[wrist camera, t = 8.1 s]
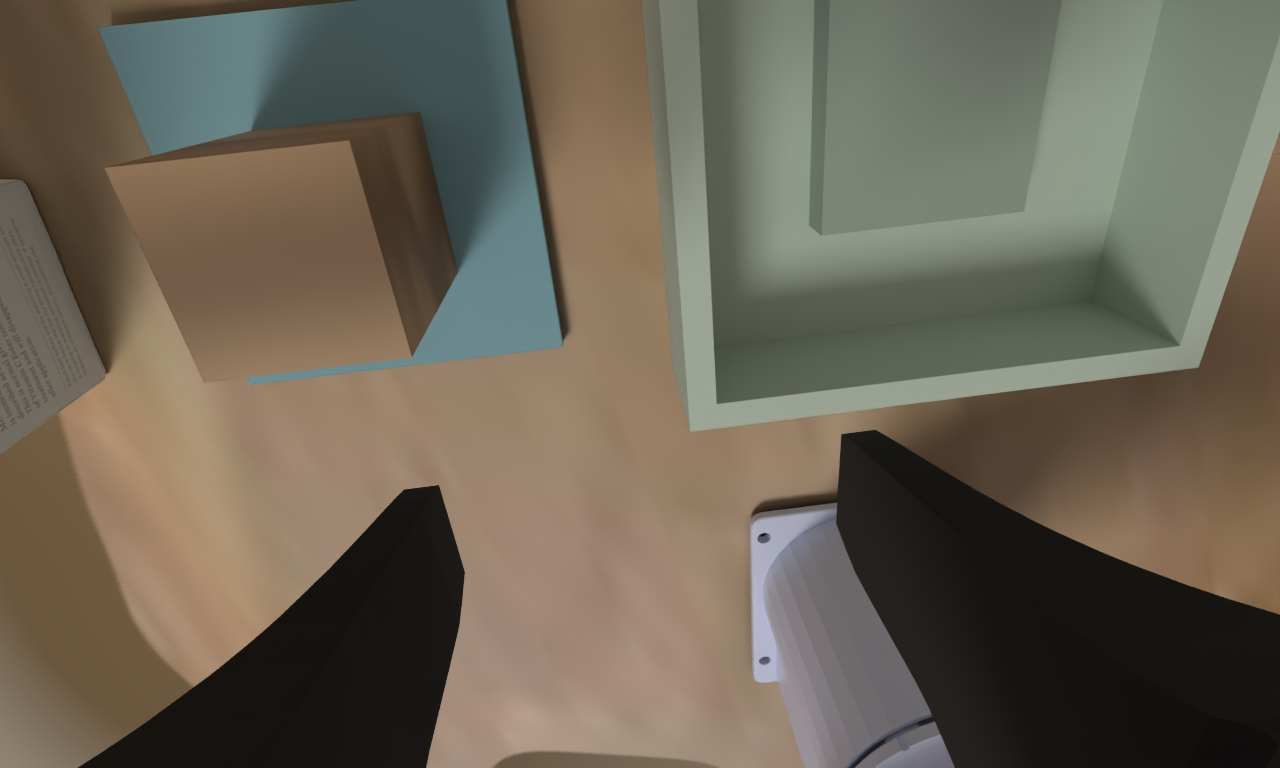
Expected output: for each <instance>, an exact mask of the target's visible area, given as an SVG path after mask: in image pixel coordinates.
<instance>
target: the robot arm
mask: <svg viewBox="0 0 1280 768" xmlns="http://www.w3.org/2000/svg"><path fill="white" fill-rule="evenodd" d="M762 533H767V534H766V535H765V536H762V537H760V536H759V535H760V534H762ZM749 541H750V590H751V640H752V672H753V676H754V679H755V680H756V681H757V682H761V683H766V682H774V681H778V684H779V687H780V690H781V694H782V697H783V700H784V703H785V707H786V710H787V713H788V716H789V719H790V723H791V726H792V729H793V732H794V736H795V739H796V742H797V745H798V748H799V752H800V755H801V758H802V761H803V765H804V768H1280V615H1279V614H1276V613H1273V612H1269V611H1266V610H1263V609H1259V608H1256V607H1253V606H1250V605H1246V604H1243V603H1240V602H1237V601H1233V600H1230V599H1227V598H1224V597H1221V596H1218V595H1215V594H1212V593H1209V592H1206V591H1203V590H1200V589H1197V588H1194V587H1191V586H1188V585H1185V584H1183V583H1180V582H1177V581H1174V580H1172V579H1169V578H1166V577H1164V576H1161V575H1158V574H1156V573H1153V572H1150V571H1148V570H1145V569H1142V568H1139V567H1137V566H1134V565H1132V564H1129V563H1127V562H1124V561H1122V560H1119V559H1117V558H1114V557H1112V556H1109V555H1107V554H1104V553H1102V552H1100V551H1098V550H1095V549H1093V548H1091V547H1089V546H1086V545H1084V544H1082V543H1080V542H1077V541H1075V540H1073V539H1071V538H1068V537H1066V536H1064V535H1062V534H1059V533H1057V532H1055V531H1053V530H1051V529H1049V528H1047V527H1045V526H1043V525H1041V524H1039V523H1037V522H1035V521H1033V520H1031V519H1029V518H1027V517H1025V516H1023V515H1021V514H1019V513H1017V512H1015V511H1014V510H1012V509H1010V508H1008V507H1006V506H1004V505H1002V504H1000V503H998V502H996V501H995V500H993V499H991V498H989V497H988V496H986V495H984V494H982V493H980V492H979V491H977V490H975V489H973V488H972V487H970V486H968V485H966V484H965V483H963V482H961V481H960V480H958V479H956V478H955V477H953V476H951V475H949V474H948V473H946V472H945V471H943V470H941V469H940V468H938V467H936V466H935V465H933V464H931V463H930V462H928V461H926V460H925V459H923V458H922V457H920V456H918V455H917V454H915V453H913V452H912V451H910V450H909V449H907V448H905V447H904V446H902V445H900V444H899V443H897V442H895V441H894V440H892V439H890V438H889V437H887V436H885V435H883V434H882V433H880V432H878V431H876V430H871V431H863V432H855V433H848V434H842V435H841V451H840V467H839V483H838V499H837V503H830V504H822V505H814V506H806V507H799V508H791V509H783V510H775V511H767V512H761V513H757V514H756V515H754V516H753V517H752V518H751V519H750V522H749ZM464 575H465V571H464V568H463V565H462V561H461V558H460V554H459V551H458V548H457V544H456V541H455V538H454V534H453V531H452V528H451V524H450V521H449V518H448V514H447V511H446V508H445V504H444V501H443V498H442V494H441V491H440V488H439V485H437V486H429V487H421V488H414V489H406V490H403V491H402V492H401V493H400V494H399V495H398V496H397V497H396V498H395V499H394V500H393V502H392V503H391V504H390V505H389V506H388V507H387V508H386V509H385V510H384V511H383V512H382V513H381V514H380V515H379V517H378V518H377V519H376V520H375V521H374V522H373V523H372V524H371V525H370V526H369V527H368V529H367V530H366V531H365V532H364V533H363V534H362V535H361V536H360V537H359V538H358V539H357V540H356V541H355V542H354V543H353V544H352V546H351V547H350V548H349V549H348V550H347V551H346V552H345V553H344V554H343V555H342V556H341V557H340V558H339V559H338V560H337V561H336V562H335V563H334V564H333V566H332V567H331V568H330V569H329V570H328V571H327V572H326V573H325V574H324V575H323V576H322V577H320V578H319V579H318V580H317V581H316V582H315V583H314V584H313V585H312V586H311V587H310V588H309V589H308V590H307V591H306V592H305V593H304V594H303V595H302V596H301V597H300V598H299V599H298V600H297V601H296V602H295V603H294V604H293V605H291V606H290V607H289V608H288V609H287V610H286V611H285V612H284V613H283V614H282V615H281V616H280V617H279V618H278V619H277V620H276V621H274V622H273V623H272V624H271V625H270V626H269V627H268V628H267V629H265V630H264V631H263V632H262V633H261V634H260V635H259V636H257V637H256V638H255V639H254V640H253V641H252V642H250V643H249V644H248V645H247V646H246V647H244V648H243V649H242V650H241V651H239V652H238V653H237V654H236V655H235V656H233V657H232V658H231V659H230V660H229V661H227V662H226V663H225V664H224V665H222V666H221V667H220V668H219V669H217V670H216V671H215V672H214V673H212V674H211V675H210V676H209V677H207V678H206V679H204V680H203V681H202V682H200V683H199V684H198V685H196V686H195V687H194V688H192V689H191V690H189V691H188V692H187V693H185V694H184V695H183V696H181V697H180V698H179V699H177V700H176V701H175V702H173V703H172V704H171V705H169V706H168V707H166V708H165V709H164V710H162V711H161V712H160V713H158V714H157V715H156V716H154V717H153V718H151V719H150V720H149V721H147V722H146V723H145V724H143V725H142V726H140V727H139V728H137V729H136V730H134V731H133V732H131V733H130V734H128V735H127V736H126V737H124V738H123V739H121V740H120V741H118V742H117V743H115V744H114V745H112V746H111V747H109V748H108V749H106V750H105V751H103V752H102V753H100V754H99V755H97V756H95V757H94V758H92V759H91V760H89V761H88V762H86V763H85V764H83V765H81V766H80V767H78V768H426V765H427V760H428V755H429V750H430V746H431V742H432V738H433V734H434V730H435V725H436V721H437V717H438V713H439V709H440V705H441V701H442V696H443V692H444V688H445V684H446V680H447V676H448V672H449V668H450V663H451V659H452V655H453V650H454V646H455V642H456V638H457V633H458V629H459V623H460V615H461V606H462V596H463V586H464Z"/></svg>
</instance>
